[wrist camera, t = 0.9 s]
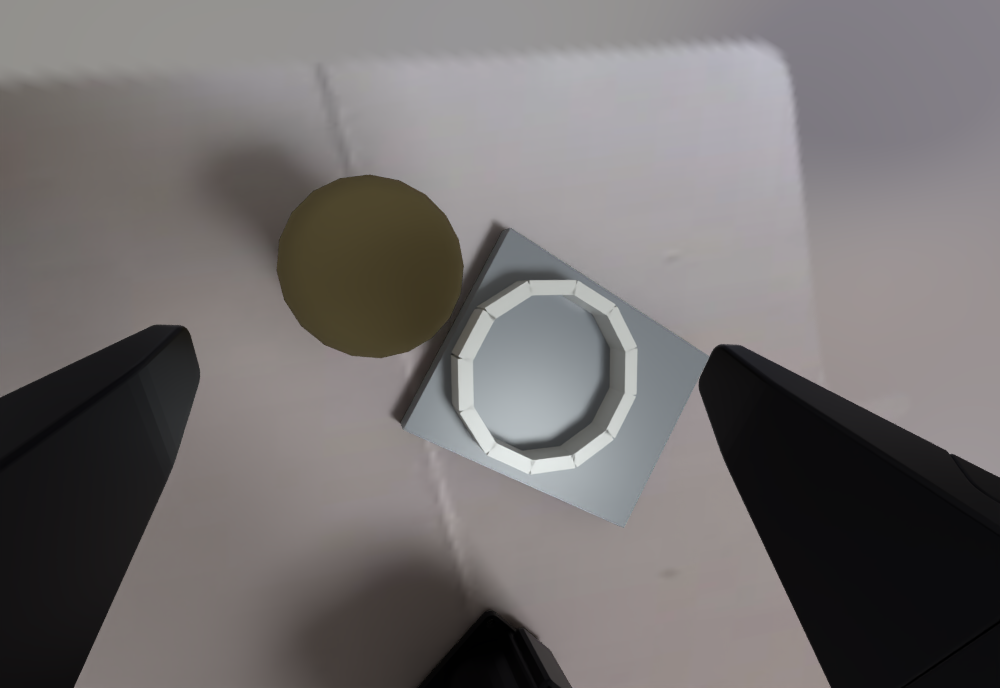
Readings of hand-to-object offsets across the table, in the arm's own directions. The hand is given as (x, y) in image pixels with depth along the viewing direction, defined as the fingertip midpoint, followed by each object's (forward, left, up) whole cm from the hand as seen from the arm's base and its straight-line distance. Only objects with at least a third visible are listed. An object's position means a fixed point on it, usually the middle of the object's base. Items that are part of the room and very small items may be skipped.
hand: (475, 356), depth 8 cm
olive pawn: (0, +2, -16) cm, 16 cm away
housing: (+4, -9, -16) cm, 19 cm away
